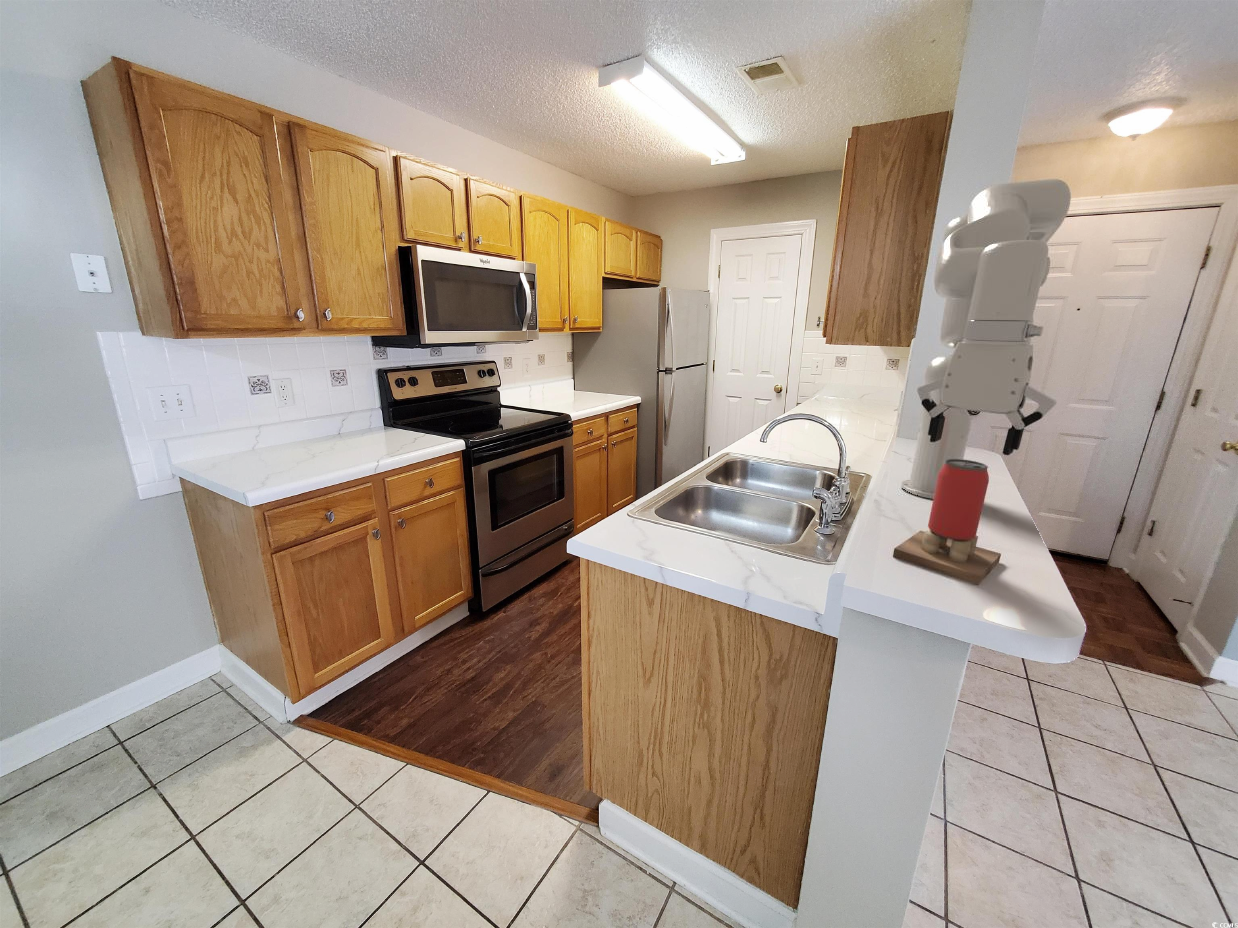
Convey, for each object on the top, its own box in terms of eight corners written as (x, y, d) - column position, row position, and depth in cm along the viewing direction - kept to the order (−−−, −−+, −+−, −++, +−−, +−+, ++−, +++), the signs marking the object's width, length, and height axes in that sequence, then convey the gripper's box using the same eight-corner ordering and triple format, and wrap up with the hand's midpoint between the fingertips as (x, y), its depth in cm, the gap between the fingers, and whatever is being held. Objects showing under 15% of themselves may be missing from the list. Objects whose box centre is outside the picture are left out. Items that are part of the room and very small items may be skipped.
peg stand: (918, 538, 89) (923, 515, 88) (999, 561, 80) (1005, 536, 79) (892, 556, 81) (897, 531, 80) (978, 585, 72) (984, 557, 71)
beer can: (976, 545, 75) (994, 471, 72) (926, 535, 79) (941, 464, 75) (973, 531, 81) (990, 462, 77) (927, 522, 84) (941, 455, 81)
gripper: (1078, 335, 67) (1045, 454, 72) (937, 331, 80) (918, 433, 85) (1069, 336, 62) (1034, 464, 67) (920, 332, 75) (901, 440, 80)
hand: (969, 446), depth 76 cm, fingers open, 9 cm apart
